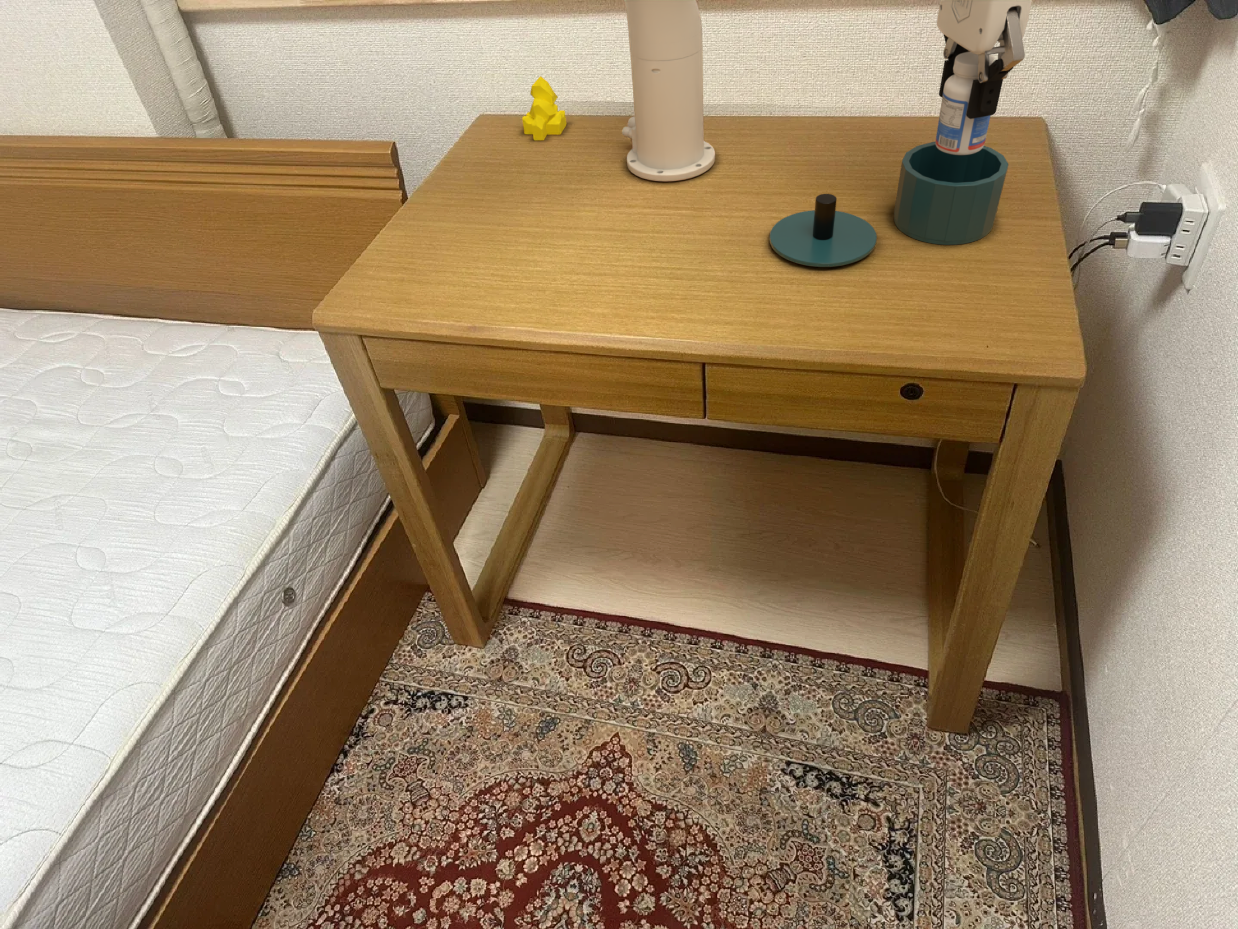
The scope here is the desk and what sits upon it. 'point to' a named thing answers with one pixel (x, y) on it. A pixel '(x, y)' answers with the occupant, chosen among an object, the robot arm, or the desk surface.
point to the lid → (823, 236)
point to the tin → (949, 194)
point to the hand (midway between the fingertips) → (966, 103)
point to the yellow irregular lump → (543, 112)
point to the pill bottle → (961, 110)
